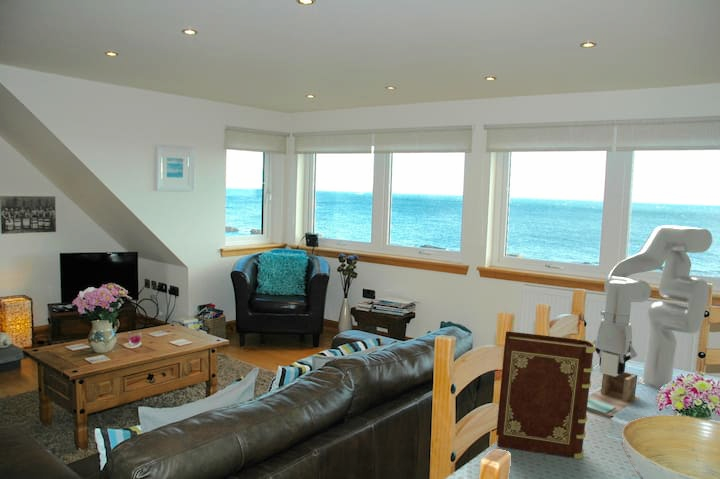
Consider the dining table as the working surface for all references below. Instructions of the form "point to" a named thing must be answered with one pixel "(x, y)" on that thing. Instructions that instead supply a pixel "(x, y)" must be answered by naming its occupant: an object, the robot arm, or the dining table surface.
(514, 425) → the decorative book
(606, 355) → the carton
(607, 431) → the dining table surface
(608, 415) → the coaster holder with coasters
